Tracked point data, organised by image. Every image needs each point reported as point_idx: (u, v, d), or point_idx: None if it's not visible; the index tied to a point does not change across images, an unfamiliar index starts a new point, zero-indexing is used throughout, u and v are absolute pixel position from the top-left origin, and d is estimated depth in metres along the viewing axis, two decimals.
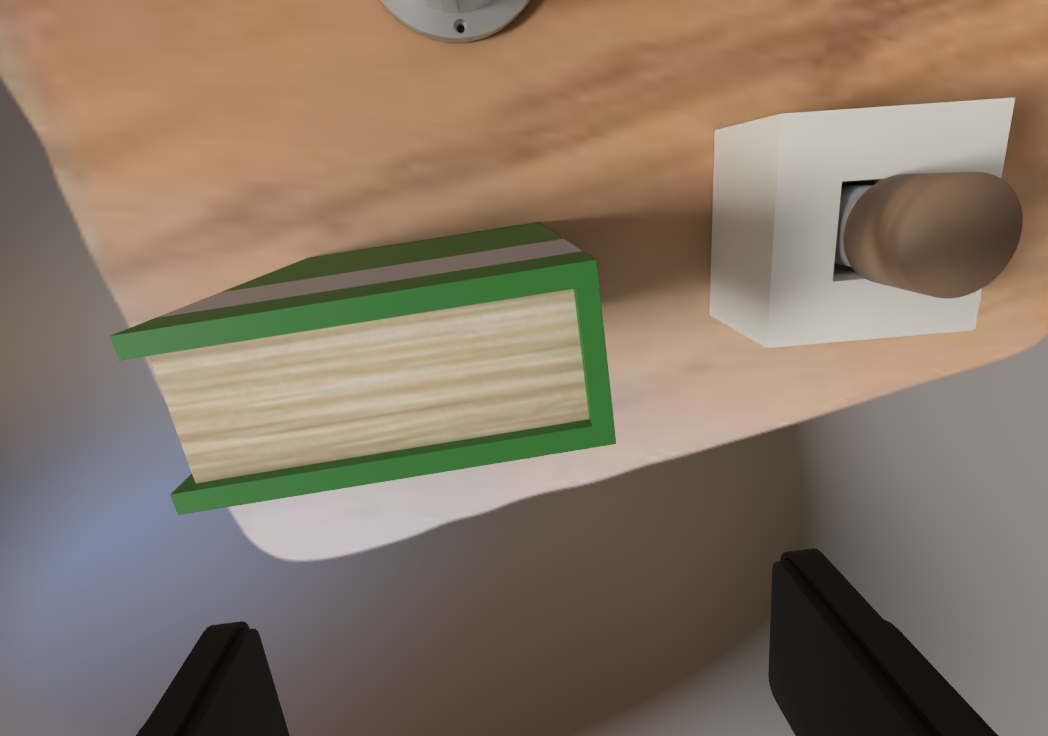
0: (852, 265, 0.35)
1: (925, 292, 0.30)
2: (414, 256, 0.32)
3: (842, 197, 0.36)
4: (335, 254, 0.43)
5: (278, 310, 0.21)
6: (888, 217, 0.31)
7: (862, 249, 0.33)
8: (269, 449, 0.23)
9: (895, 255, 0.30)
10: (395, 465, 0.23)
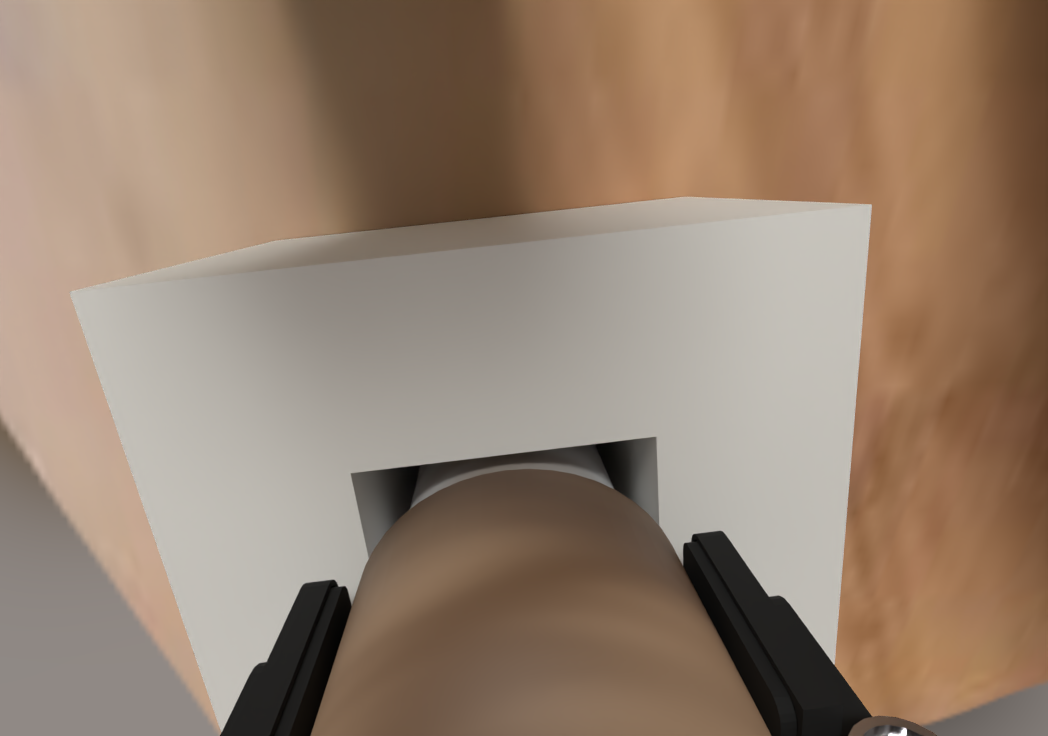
0: (403, 519, 0.10)
1: None
2: None
3: (591, 459, 0.13)
4: None
5: None
6: (609, 610, 0.07)
7: (460, 537, 0.09)
8: None
9: (449, 694, 0.06)
10: None
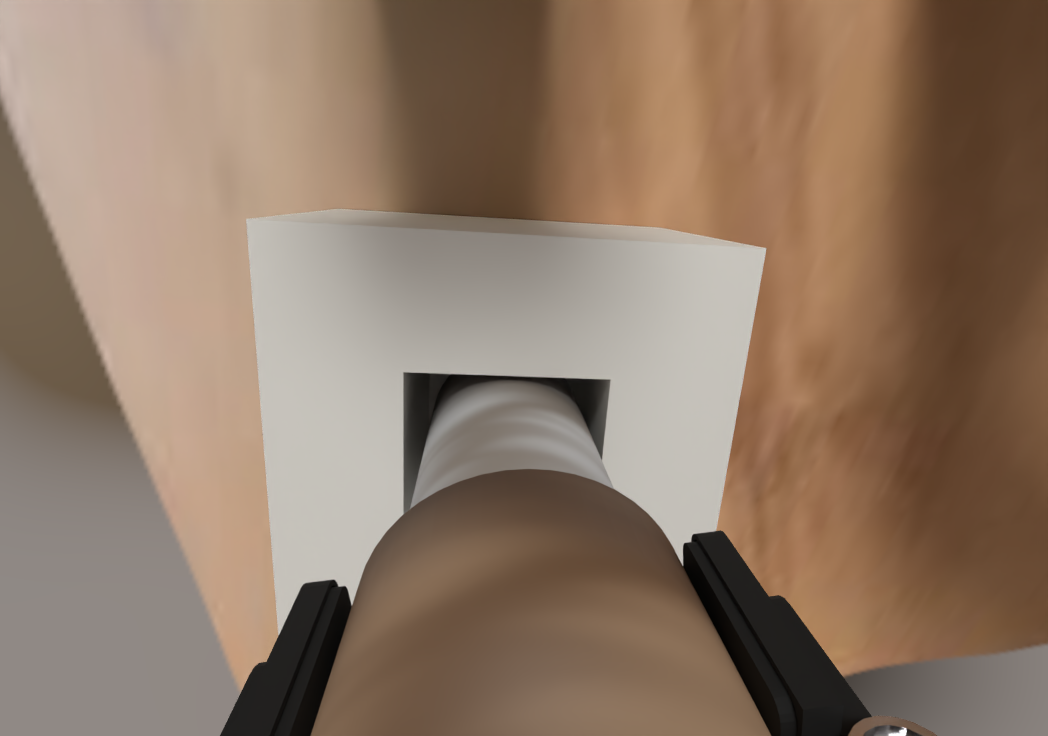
0: (404, 519, 0.10)
1: None
2: None
3: (591, 459, 0.13)
4: None
5: None
6: (608, 609, 0.07)
7: (460, 537, 0.09)
8: None
9: (450, 693, 0.06)
10: None
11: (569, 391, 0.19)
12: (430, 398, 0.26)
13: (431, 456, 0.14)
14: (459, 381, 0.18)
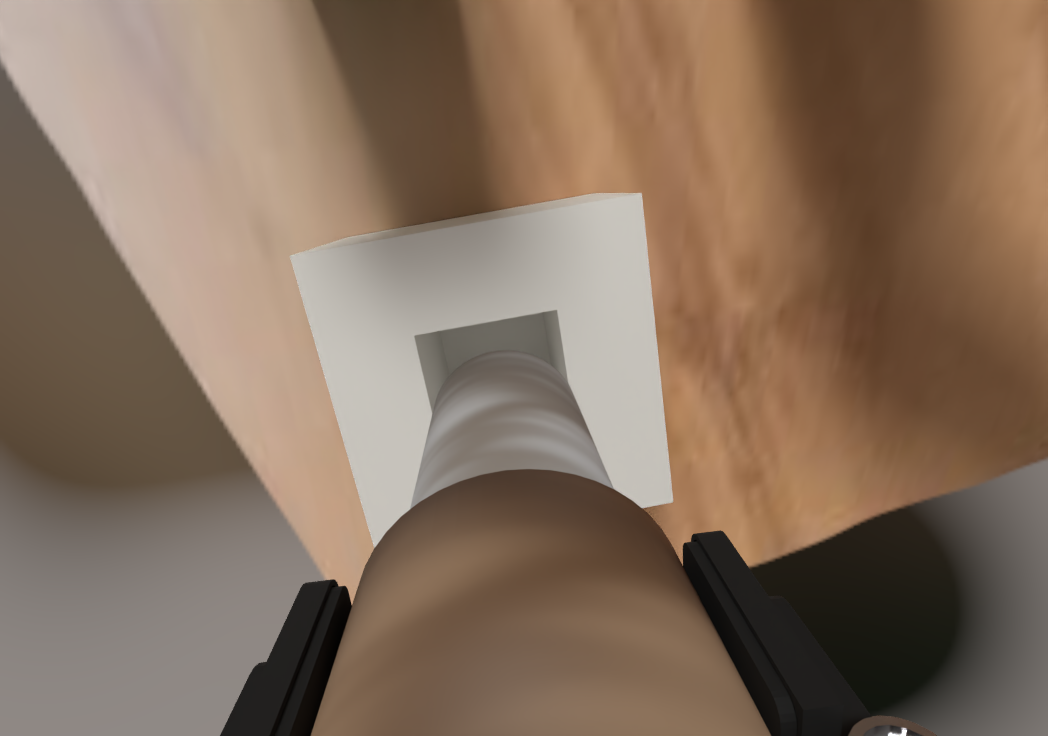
0: (404, 519, 0.10)
1: None
2: None
3: (591, 459, 0.14)
4: None
5: None
6: (608, 608, 0.07)
7: (460, 537, 0.09)
8: None
9: (450, 694, 0.06)
10: None
11: (569, 391, 0.19)
12: (448, 365, 0.33)
13: (431, 456, 0.14)
14: (459, 381, 0.18)
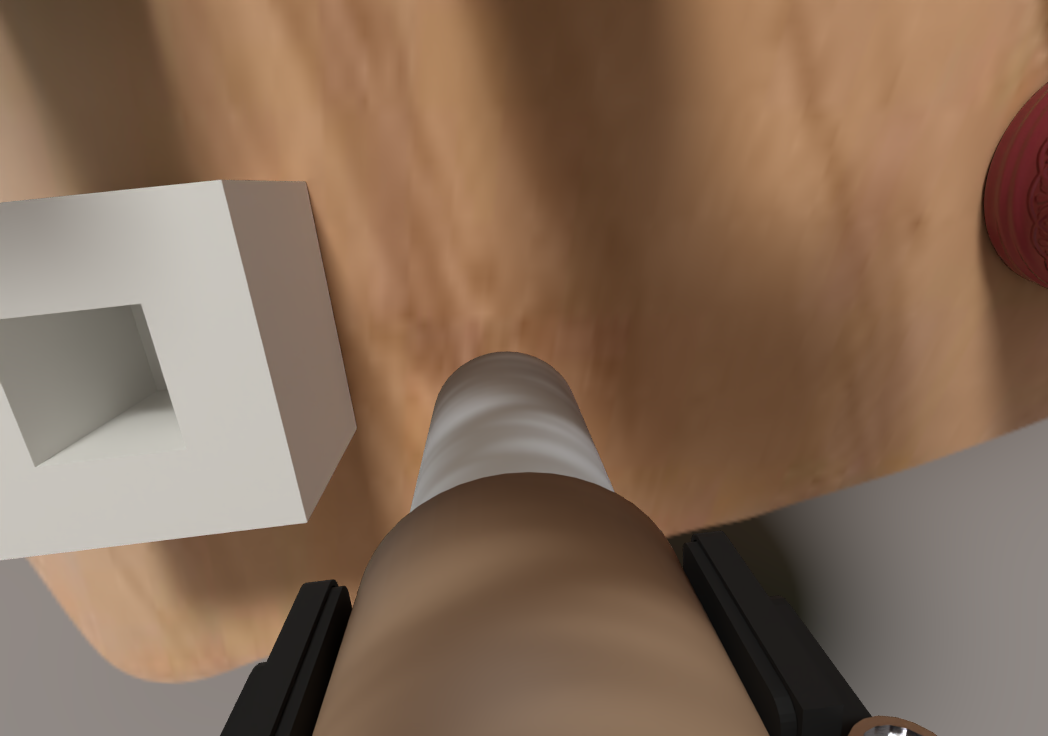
0: (404, 522, 0.10)
1: None
2: None
3: (591, 461, 0.13)
4: None
5: None
6: (608, 613, 0.07)
7: (461, 540, 0.08)
8: None
9: (450, 700, 0.06)
10: None
11: (569, 393, 0.19)
12: (147, 357, 0.31)
13: (431, 458, 0.14)
14: (459, 383, 0.18)
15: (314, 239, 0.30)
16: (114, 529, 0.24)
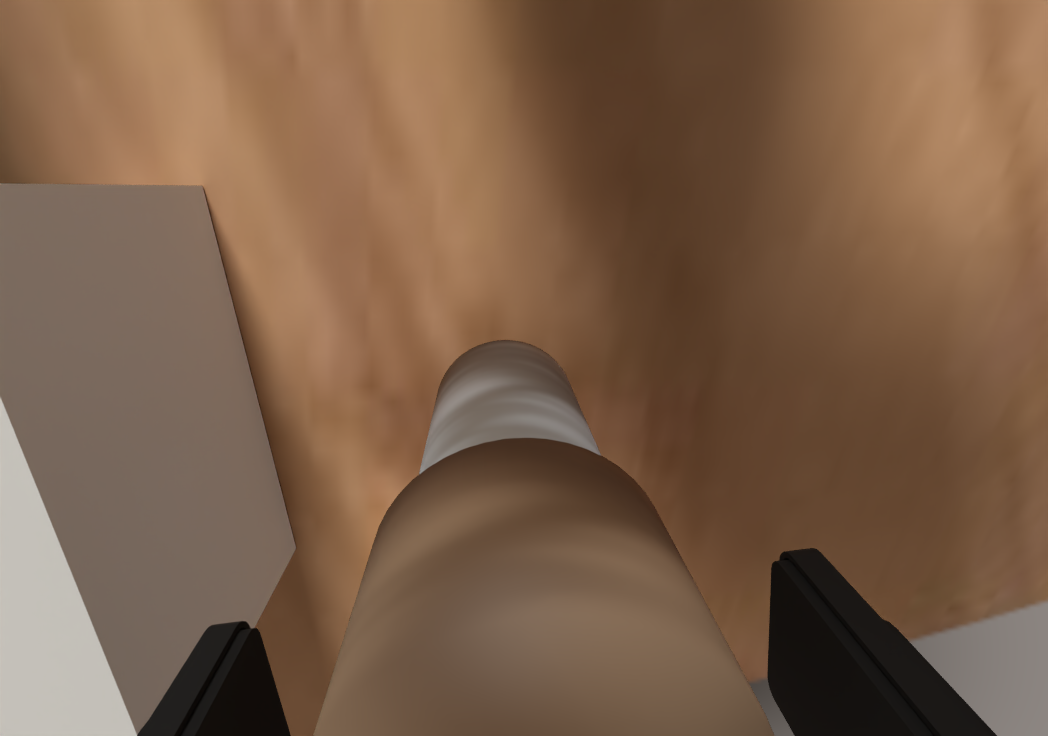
0: (414, 482, 0.11)
1: None
2: None
3: (583, 435, 0.15)
4: None
5: None
6: (593, 544, 0.08)
7: (466, 491, 0.10)
8: None
9: (459, 604, 0.07)
10: None
11: (564, 378, 0.20)
12: None
13: (436, 434, 0.15)
14: (461, 368, 0.19)
15: (217, 275, 0.19)
16: None
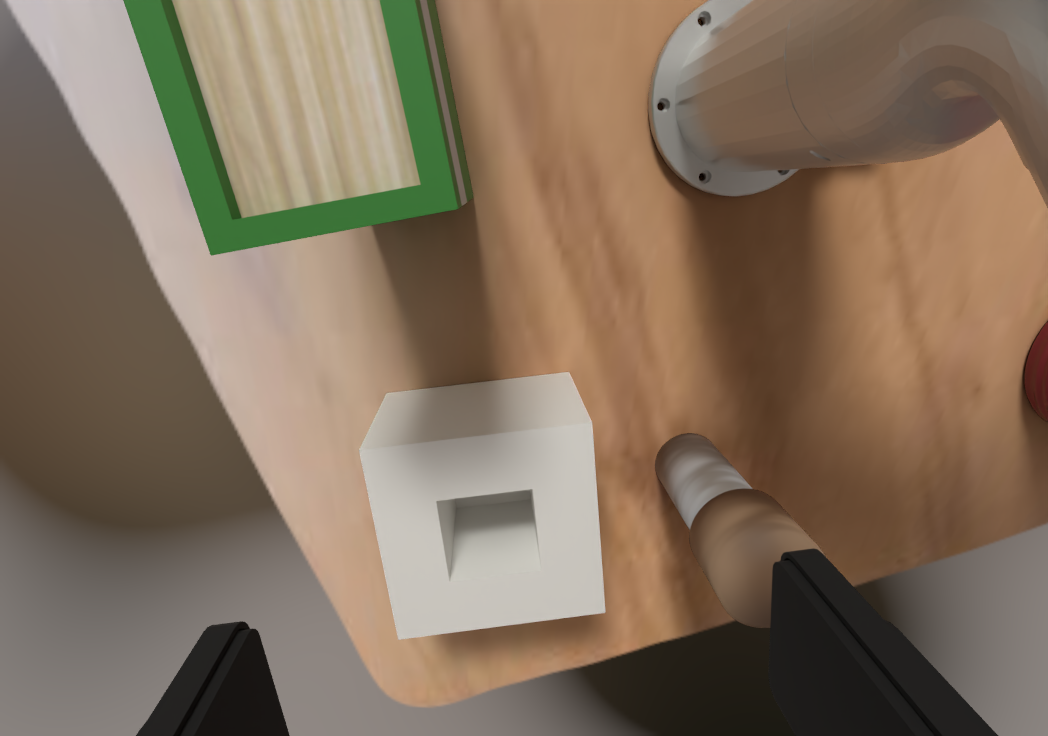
0: (710, 502, 0.36)
1: (726, 565, 0.32)
2: (432, 17, 0.26)
3: (747, 483, 0.40)
4: None
5: None
6: (781, 519, 0.33)
7: (738, 505, 0.35)
8: None
9: (759, 531, 0.32)
10: None
11: None
12: None
13: (689, 482, 0.41)
14: (677, 449, 0.45)
15: None
16: (488, 618, 0.38)
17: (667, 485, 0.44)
